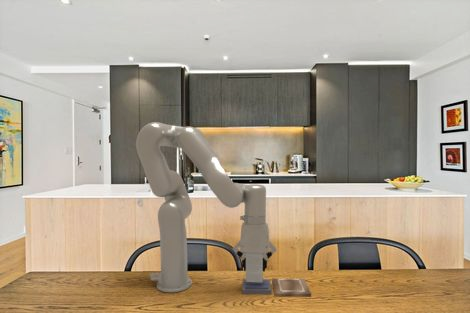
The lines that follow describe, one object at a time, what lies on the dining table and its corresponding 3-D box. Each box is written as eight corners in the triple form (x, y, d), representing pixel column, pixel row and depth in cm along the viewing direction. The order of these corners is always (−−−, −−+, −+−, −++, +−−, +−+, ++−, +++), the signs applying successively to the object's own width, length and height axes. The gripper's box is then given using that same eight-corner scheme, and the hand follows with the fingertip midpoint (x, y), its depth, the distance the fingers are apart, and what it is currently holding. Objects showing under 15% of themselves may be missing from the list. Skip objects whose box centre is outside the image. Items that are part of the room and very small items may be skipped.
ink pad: (242, 294, 107) (242, 288, 107) (242, 282, 116) (242, 277, 116) (271, 294, 106) (271, 289, 106) (269, 282, 115) (269, 278, 115)
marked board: (274, 296, 105) (274, 292, 104) (272, 281, 117) (272, 277, 116) (311, 296, 104) (311, 292, 104) (304, 281, 116) (304, 277, 116)
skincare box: (262, 278, 113) (263, 245, 112) (262, 283, 108) (263, 248, 108) (245, 277, 113) (246, 244, 113) (245, 282, 109) (245, 248, 109)
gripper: (229, 221, 107) (229, 273, 107) (280, 222, 106) (279, 275, 107) (231, 216, 114) (230, 265, 115) (278, 217, 114) (277, 266, 114)
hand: (254, 269), depth 111 cm, fingers closed on skincare box, 6 cm apart
